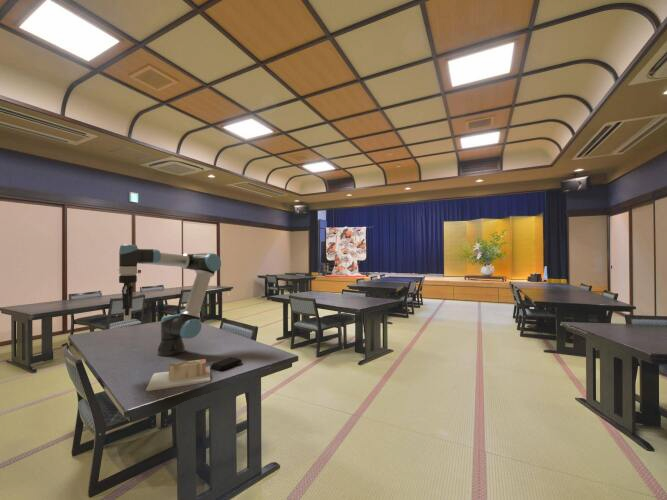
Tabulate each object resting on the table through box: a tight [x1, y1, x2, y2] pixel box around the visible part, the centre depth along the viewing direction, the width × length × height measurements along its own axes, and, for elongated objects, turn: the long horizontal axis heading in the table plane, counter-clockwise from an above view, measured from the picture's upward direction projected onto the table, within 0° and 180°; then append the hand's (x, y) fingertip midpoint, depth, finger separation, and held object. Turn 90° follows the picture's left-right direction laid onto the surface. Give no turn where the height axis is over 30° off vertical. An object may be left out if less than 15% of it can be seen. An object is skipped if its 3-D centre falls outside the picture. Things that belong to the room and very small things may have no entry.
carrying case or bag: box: [210, 356, 243, 372], centre depth 164 cm, size 11×3×15 cm
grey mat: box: [145, 365, 211, 392], centre depth 147 cm, size 26×20×1 cm
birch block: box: [168, 358, 207, 380], centre depth 148 cm, size 6×6×16 cm
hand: (127, 321), depth 153 cm, fingers closed
